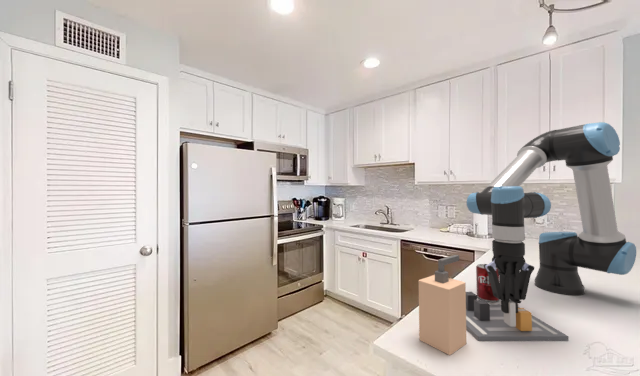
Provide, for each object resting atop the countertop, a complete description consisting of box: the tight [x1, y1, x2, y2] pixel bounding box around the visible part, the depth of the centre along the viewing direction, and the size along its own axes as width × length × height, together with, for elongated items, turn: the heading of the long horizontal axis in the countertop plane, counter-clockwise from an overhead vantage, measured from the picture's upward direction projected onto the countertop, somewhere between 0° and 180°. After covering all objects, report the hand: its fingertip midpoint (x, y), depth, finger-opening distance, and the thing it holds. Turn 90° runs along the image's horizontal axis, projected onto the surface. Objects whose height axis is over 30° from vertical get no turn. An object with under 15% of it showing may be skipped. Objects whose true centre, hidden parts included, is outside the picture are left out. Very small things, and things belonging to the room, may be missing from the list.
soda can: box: [475, 263, 500, 303], centre depth 98 cm, size 7×7×12 cm
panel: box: [466, 291, 569, 342], centre depth 80 cm, size 24×20×6 cm
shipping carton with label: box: [516, 307, 533, 331], centre depth 74 cm, size 3×3×5 cm
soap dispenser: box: [418, 254, 468, 356], centre depth 72 cm, size 13×9×22 cm
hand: (509, 323), depth 74 cm, fingers closed
